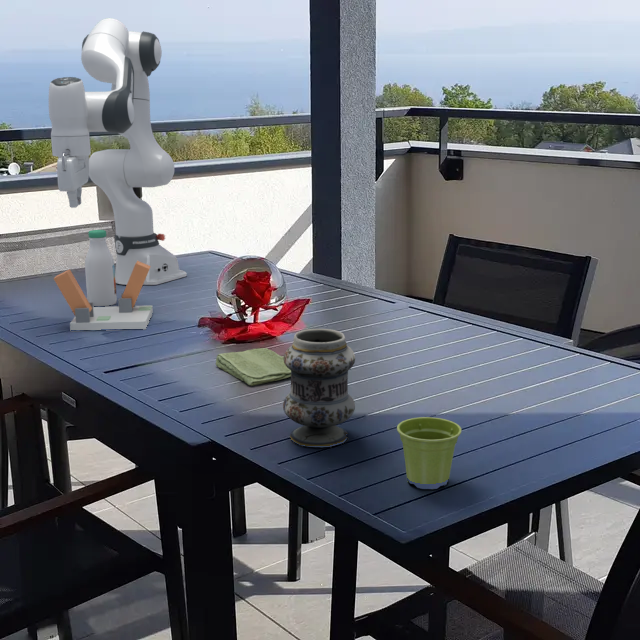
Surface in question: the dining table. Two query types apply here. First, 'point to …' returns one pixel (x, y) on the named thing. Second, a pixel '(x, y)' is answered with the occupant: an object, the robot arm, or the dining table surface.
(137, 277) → the lever
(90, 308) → the lever
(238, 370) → the washcloth
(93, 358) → the dining table surface
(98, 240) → the milk bottle
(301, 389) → the apothecary jar
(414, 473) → the plant pot
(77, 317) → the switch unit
